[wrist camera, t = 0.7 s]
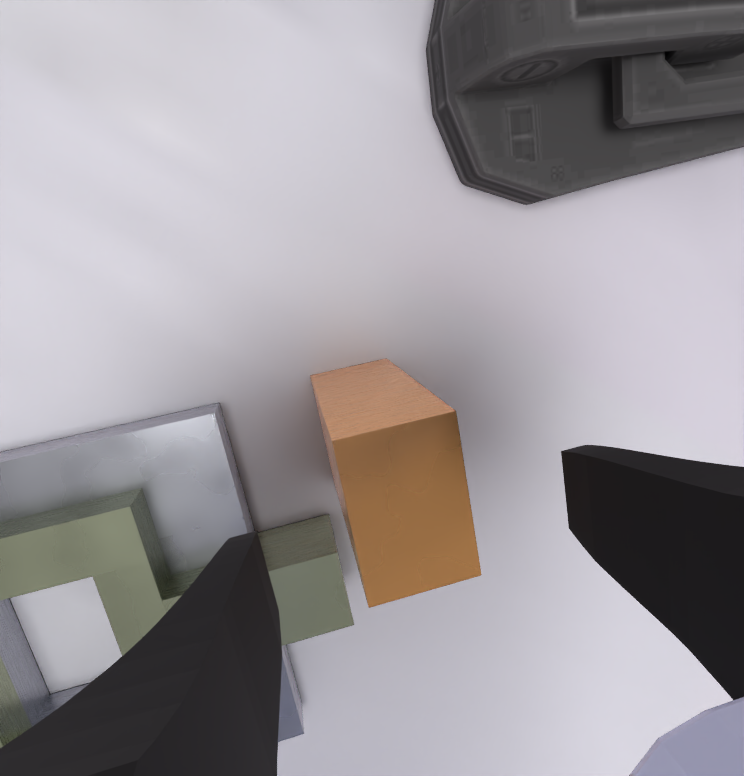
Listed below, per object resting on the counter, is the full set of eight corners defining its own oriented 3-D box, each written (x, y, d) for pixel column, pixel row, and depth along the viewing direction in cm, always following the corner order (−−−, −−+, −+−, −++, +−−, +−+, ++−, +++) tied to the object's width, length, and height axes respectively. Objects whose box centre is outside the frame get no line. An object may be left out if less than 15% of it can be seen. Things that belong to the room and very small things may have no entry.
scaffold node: (368, 683, 23) (386, 766, 19) (-40, 810, 20) (-115, 934, 17) (298, 384, 19) (304, 412, 15) (-202, 497, 17) (-342, 562, 13)
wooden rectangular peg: (405, 464, 21) (481, 575, 13) (334, 482, 20) (368, 608, 13) (386, 358, 20) (455, 410, 12) (310, 375, 19) (332, 440, 12)
